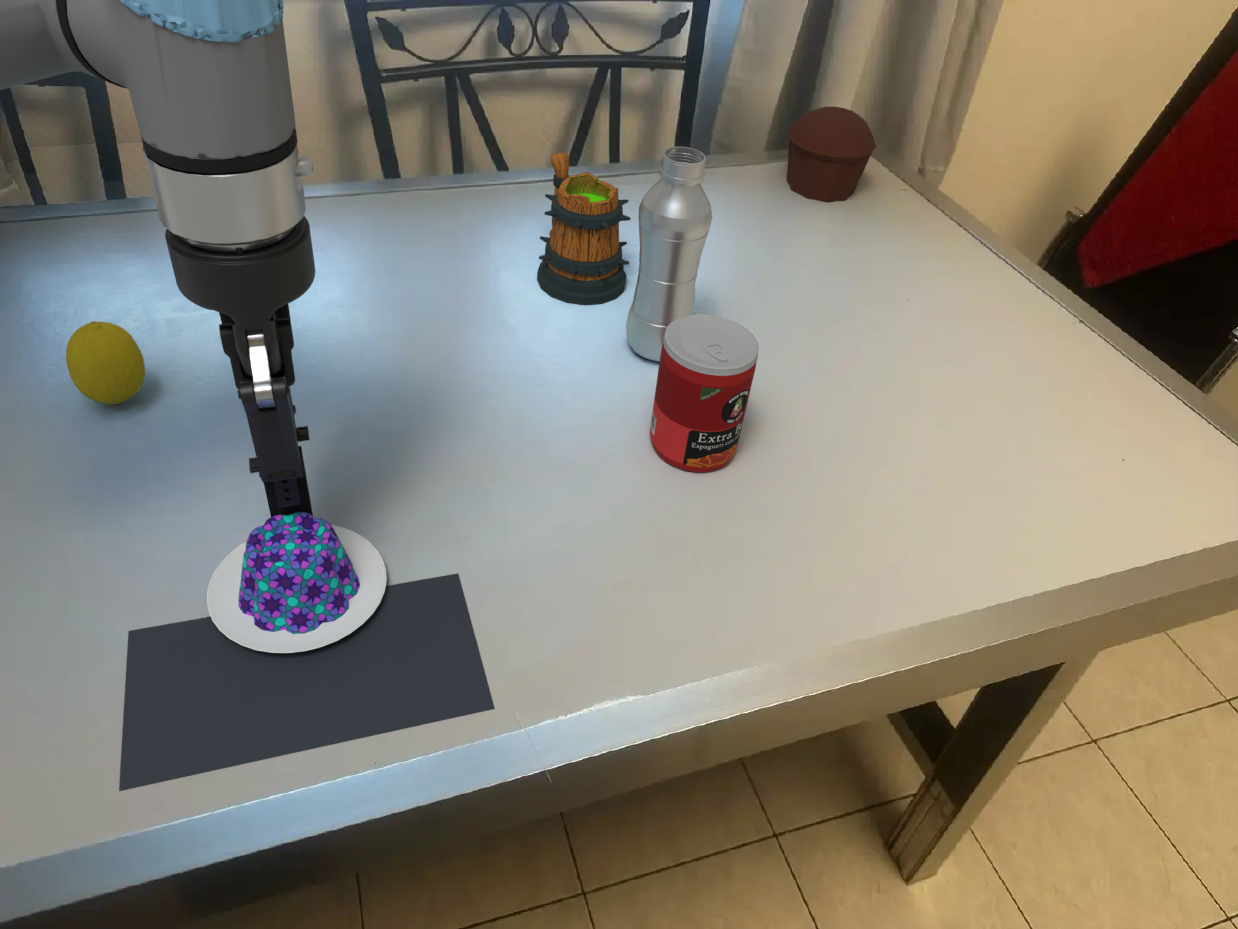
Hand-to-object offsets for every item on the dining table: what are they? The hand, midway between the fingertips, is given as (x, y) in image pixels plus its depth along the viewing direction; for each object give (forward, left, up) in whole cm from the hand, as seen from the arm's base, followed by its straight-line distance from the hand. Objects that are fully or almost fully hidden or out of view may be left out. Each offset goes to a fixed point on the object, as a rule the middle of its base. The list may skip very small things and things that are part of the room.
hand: (293, 524), depth 68 cm
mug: (0, +47, -3) cm, 47 cm away
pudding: (+2, -3, -3) cm, 5 cm away
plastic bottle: (+13, +38, -3) cm, 41 cm away
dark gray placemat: (+7, -8, -3) cm, 11 cm away
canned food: (+21, +26, -3) cm, 34 cm away
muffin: (+18, +85, -3) cm, 87 cm away
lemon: (-24, +7, -3) cm, 25 cm away
